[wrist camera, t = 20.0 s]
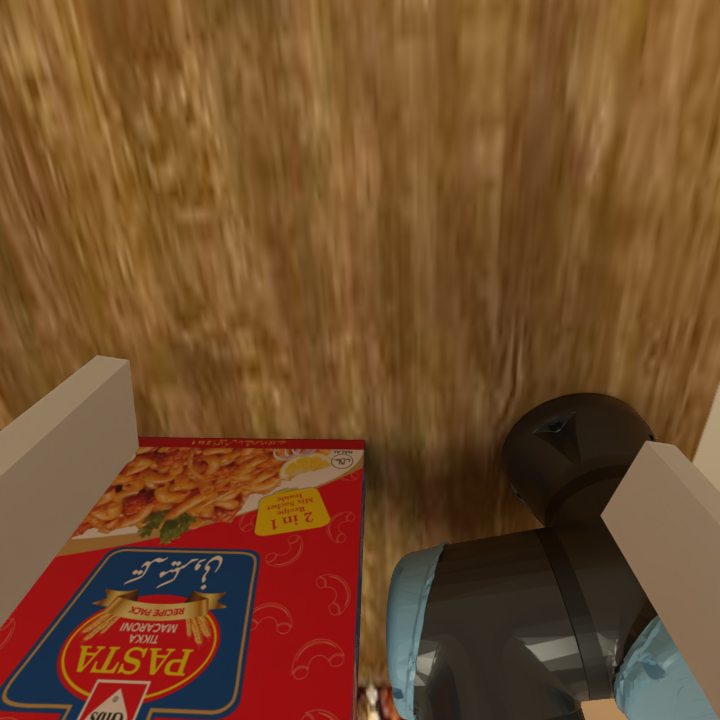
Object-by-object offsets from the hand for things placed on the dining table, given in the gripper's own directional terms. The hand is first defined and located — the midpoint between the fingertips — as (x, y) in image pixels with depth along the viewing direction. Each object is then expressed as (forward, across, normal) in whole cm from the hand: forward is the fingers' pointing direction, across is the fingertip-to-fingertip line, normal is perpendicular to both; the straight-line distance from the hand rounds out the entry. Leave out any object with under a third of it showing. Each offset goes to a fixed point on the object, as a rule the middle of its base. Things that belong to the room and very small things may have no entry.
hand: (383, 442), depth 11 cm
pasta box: (+29, -11, -29) cm, 43 cm away
